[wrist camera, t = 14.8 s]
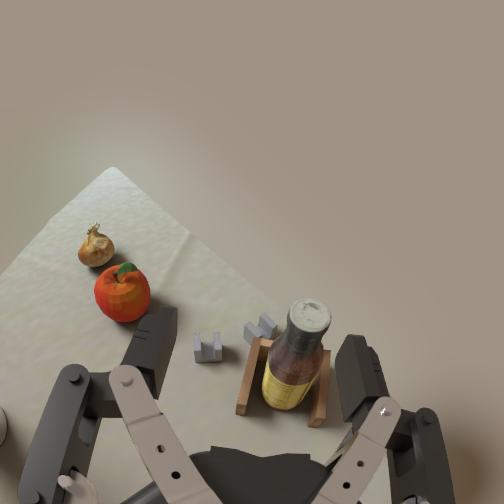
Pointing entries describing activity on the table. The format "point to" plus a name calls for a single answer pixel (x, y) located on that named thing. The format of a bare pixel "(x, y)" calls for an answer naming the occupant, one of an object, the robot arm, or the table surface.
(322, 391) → the frame
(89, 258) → the onion
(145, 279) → the fruit
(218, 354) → the clip
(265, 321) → the clip
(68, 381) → the robot arm
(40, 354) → the table surface
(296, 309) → the sauce bottle
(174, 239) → the table surface
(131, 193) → the table surface
